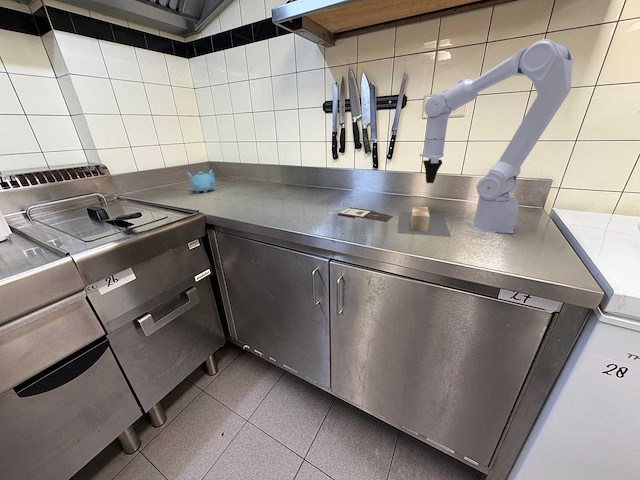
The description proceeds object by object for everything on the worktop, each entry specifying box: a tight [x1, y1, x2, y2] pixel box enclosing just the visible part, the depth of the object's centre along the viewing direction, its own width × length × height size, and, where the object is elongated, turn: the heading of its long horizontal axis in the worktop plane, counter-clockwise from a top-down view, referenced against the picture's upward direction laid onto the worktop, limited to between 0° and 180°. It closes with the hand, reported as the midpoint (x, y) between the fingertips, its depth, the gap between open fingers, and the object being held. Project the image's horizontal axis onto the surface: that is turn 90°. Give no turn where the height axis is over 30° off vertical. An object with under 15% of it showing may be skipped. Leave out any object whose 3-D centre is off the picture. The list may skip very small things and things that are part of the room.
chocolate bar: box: [337, 207, 394, 223], centre depth 93 cm, size 9×1×18 cm
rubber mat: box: [397, 211, 452, 238], centre depth 83 cm, size 14×20×1 cm
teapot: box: [186, 169, 216, 194], centre depth 138 cm, size 13×13×10 cm
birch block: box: [411, 206, 430, 231], centre depth 80 cm, size 4×4×9 cm
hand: (429, 182), depth 89 cm, fingers closed
